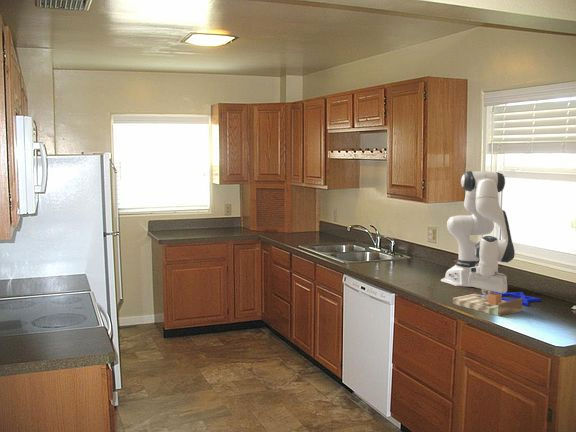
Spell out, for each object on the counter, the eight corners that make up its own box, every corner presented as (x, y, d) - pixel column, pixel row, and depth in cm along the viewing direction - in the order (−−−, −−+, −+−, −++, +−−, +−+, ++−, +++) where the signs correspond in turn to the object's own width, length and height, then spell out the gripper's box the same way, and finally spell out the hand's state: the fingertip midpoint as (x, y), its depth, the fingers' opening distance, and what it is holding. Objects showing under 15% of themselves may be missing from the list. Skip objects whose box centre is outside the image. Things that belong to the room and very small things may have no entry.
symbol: (472, 296, 316) (499, 287, 337) (471, 300, 316) (499, 290, 337) (521, 306, 298) (547, 296, 319) (521, 309, 298) (547, 299, 319)
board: (452, 303, 306) (453, 291, 305) (474, 299, 316) (475, 287, 315) (499, 316, 284) (500, 303, 283) (521, 311, 294) (522, 298, 293)
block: (487, 303, 296) (487, 293, 296) (493, 301, 299) (493, 292, 298) (495, 305, 292) (495, 295, 292) (501, 303, 295) (501, 294, 295)
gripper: (510, 273, 291) (509, 302, 292) (475, 266, 307) (473, 293, 309) (502, 274, 287) (501, 304, 289) (466, 267, 304) (465, 295, 305)
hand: (486, 298), depth 299 cm, fingers closed
